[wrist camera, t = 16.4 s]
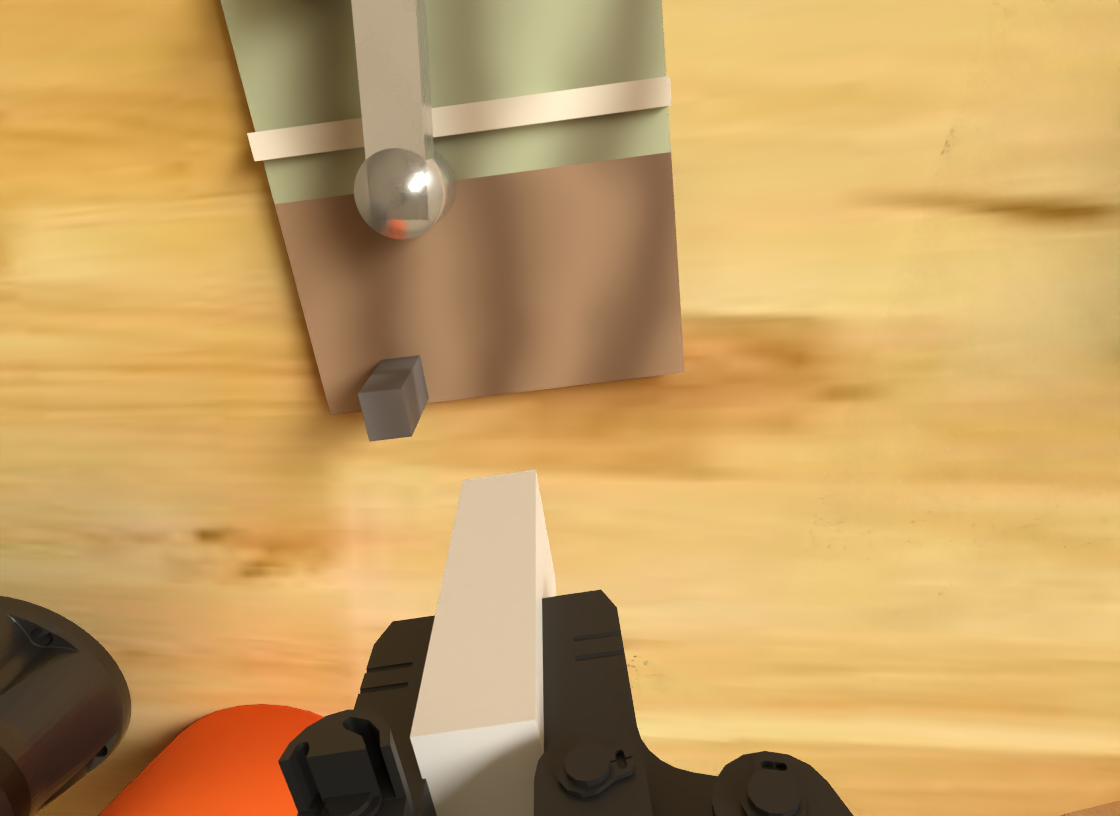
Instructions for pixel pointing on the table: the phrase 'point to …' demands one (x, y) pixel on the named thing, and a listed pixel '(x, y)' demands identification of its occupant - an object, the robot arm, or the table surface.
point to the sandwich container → (1099, 810)
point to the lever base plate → (477, 201)
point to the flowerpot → (220, 767)
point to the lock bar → (397, 121)
